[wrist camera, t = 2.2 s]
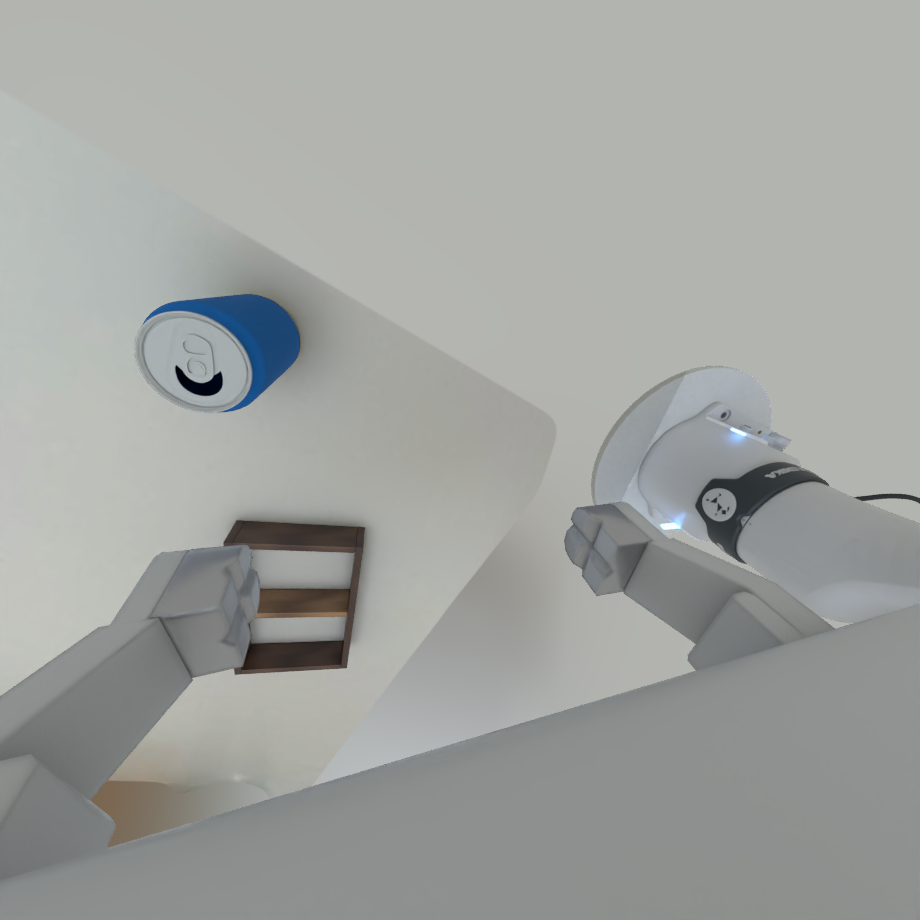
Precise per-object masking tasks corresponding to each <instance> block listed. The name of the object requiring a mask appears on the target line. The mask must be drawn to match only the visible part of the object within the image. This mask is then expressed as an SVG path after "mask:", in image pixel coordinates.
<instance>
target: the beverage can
mask: <svg viewBox="0 0 920 920" xmlns="http://www.w3.org/2000/svg"><path fill="white" fill-rule="evenodd" d="M299 349H300V338H299V333H298V330H297V327H296V325H295V323H294V322H293V320H292V318H291V317H290V316H289V315H288V313H287V312H286V311H285V310H284V309H283V308H282V307H280V306H279V305H278V304H276V303H275V302H273V301H271V300H269V299H267V298H264V297H262V296H258V295H252V294H244V295H234V296H224V297H214V298H204V299H195V300H185V301H177V302H172V303H168V304H165V305H163V306H161V307H159V308H157V309H156V310H155V311H153V312H152V313H151V314H150V315H149V316H148V317H147V318H146V320H145V321H144V323H143V325H142V326H141V328H140V329H139V331H138V333H137V336H136V339H135V348H134V350H135V357H136V361H137V364H138V367H139V369H140V371H141V373H142V375H143V376H144V378H145V379H146V381H147V382H148V383H149V384H150V385H151V387H152V388H153V389H154V390H155V391H157V392H158V393H159V394H160V395H161V396H163V397H164V398H165V399H167V400H169V401H170V402H172V403H174V404H176V405H178V406H180V407H182V408H185V409H188V410H192V411H196V412H204V413H214V412H229V411H234V410H237V409H241V408H243V407H245V406H247V405H248V404H250V403H251V402H253V401H254V400H255V399H256V398H257V397H258V396H259V395H260V394H261V393H262V392H263V391H265V390H266V389H267V388H268V387H269V386H270V385H271V384H272V383H273V382H274V381H275V380H276V379H277V378H278V377H280V376H281V375H282V374H283V373H284V372H285V371H286V370H287V369H288V368H289V367H290V366H291V365H292V364H293V363H294V362H295V360H296V358H297V356H298V354H299Z"/></svg>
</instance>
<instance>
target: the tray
mask: <svg viewBox="0 0 920 920" xmlns="http://www.w3.org/2000/svg"><path fill="white" fill-rule="evenodd" d="M364 530H365V528H360V527H358V528H357V527H342V526H323V525H305V524H287V523H268V522H250V521H236V523H235V524H234V526H233V528H232V529H231V531H230V533H229V534H228V536H227V538H226V539H225V541H224V546H234V545H247V546H249V548H250V549H261V550H290V551H319V552H349V553H355V554H354V562H353V570H352V578H351V586H350V590H308V589H260V600H259V607H258V611H257V615H256V617H255V618H286V617H346V616H347V618H346V626H345V634H344V641H330V642H302V643H273V644H251V638H250V642H249V646H248V649H247V653H246V657H245V661H244V664H243V666H242V667H238V668H234V671H235V675H236V674H252V673H270V672H287V671H305V670H322V669H340V668H347V662H348V655H349V648H350V640H351V633H352V626H353V619H354V611H355V604H356V597H357V589H358V582H359V575H360V568H361V560H362V553H363V544H364ZM248 627H249V630H250V623H249V624H248Z"/></svg>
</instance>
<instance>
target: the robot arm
mask: <svg viewBox="0 0 920 920" xmlns="http://www.w3.org/2000/svg"><path fill="white" fill-rule="evenodd" d="M790 441H791V440H790V439H788V438H786V437H783V436H781V435H779V434H777V433H776V432H774V431H772V430H770V429H768V428H767V427H765V426H763V425H761V424H759V423H757V422H756V421H754V420H752V419H750V418H748V417H747V416H745V415H743V414H741V413H739V412H737V411H736V410H734V409H732V408H730V407H728V406H727V405H725V404H723V403H721V402H714V403H712V404H710V405H709V406H708V407H706V408H705V409H704V410H703V411H702V412H700V413H699V414H698V415H697V416H695V417H693V418H691V419H689V420H687V421H684V422H682V423H680V424H678V425H676V426H675V427H673V428H672V429H670V430H669V431H667V432H666V433H665V434H664V435H663V436H661V437H660V438H659V439H658V440H657V441H656V443H655V444H654V445H653V446H652V447H651V449H650V450H649V452H648V453H647V455H646V456H645V458H644V460H643V462H642V465H641V468H640V471H639V476H638V486H639V490H640V493H641V495H642V496H643V497H644V499H645V500H646V501H647V503H648V512H649V515H650V516H651V517H652V518H654V519H655V520H662V519H667V520H669V521H670V522H672V523H669V524H661V525H660V526H661V527H662V528H663V529H676V528H680V529H681V530H683V531H684V532H685V533H687V534H688V535H690V536H691V537H693V538H694V539H696V540H698V541H712V542H713V543H715V544H716V545H717V546H718V547H719V548H720V549H721V550H722V551H724V552H725V553H726V554H728V555H730V556H732V557H733V558H735V559H736V560H737V561H739V562H741V563H745V564H748V565H750V566H751V567H752V568H754V569H755V570H756V571H757V572H759V573H760V574H761V575H763V576H764V577H765V578H766V579H765V578H763V577H761V576H758V575H756V574H754V573H752V572H749V571H747V570H745V569H742V568H740V567H738V566H735V565H733V564H731V563H729V562H726V561H724V560H722V559H720V558H717V557H715V556H712V555H710V554H708V553H706V552H703V551H701V550H699V549H697V548H694V547H692V546H690V545H688V544H685V543H683V542H681V541H678V540H676V539H674V538H672V539H668V538H667V537H666V536H665V535H664V534H663V533H662V532H661V531H659V530H658V529H657V528H656V527H655V526H654V525H653V524H651V523H650V522H649V521H648V520H647V519H646V518H645V517H644V516H642V515H641V514H640V513H639V512H638V511H637V510H636V509H634V508H633V507H632V506H631V505H630V504H628V503H626V502H616V503H609V504H603V505H594V506H586V507H578V508H576V509H575V510H574V512H573V514H572V517H571V520H572V522H573V525H572V526H571V527H570V529H568V530H567V532H566V536H565V540H564V542H565V549H566V552H567V555H568V557H569V558H570V560H571V561H572V563H573V564H575V565H576V566H578V567H580V568H581V569H582V577H583V578H584V579H585V580H586V582H587V583H588V585H589V586H590V587H591V589H592V590H593V592H594V593H595V594H596V596H599V595H605V594H611V593H617V592H623V591H624V594H626V595H627V596H628V597H630V598H631V599H633V600H634V601H635V602H637V603H638V604H640V605H641V606H643V607H644V608H646V609H647V610H648V611H650V612H651V613H653V614H654V615H655V616H657V617H658V618H660V619H661V620H663V621H664V622H665V623H667V624H668V625H670V626H671V627H672V628H674V629H675V630H677V631H678V632H680V633H681V634H682V635H684V636H685V637H687V638H688V639H690V640H691V641H692V642H694V643H695V644H696V645H695V646H694V647H693V649H692V650H691V651H690V653H689V654H688V661H689V663H690V664H691V665H692V666H693V667H694V669H695V670H696V671H694V672H691V673H688V674H684V675H681V676H677V677H674V678H671V679H667V680H664V681H661V682H657V683H654V684H651V685H648V686H644V687H641V688H637V689H634V690H631V691H628V692H624V693H621V694H617V695H614V696H611V697H608V698H604V699H601V700H598V701H595V702H591V703H588V704H584V705H581V706H578V707H574V708H571V709H568V710H564V711H561V712H558V713H554V714H551V715H548V716H544V717H541V718H538V719H535V720H531V721H528V722H525V723H521V724H518V725H514V726H511V727H508V728H504V729H501V730H498V731H494V732H491V733H488V734H484V735H481V736H478V737H474V738H471V739H468V740H465V741H461V742H458V743H455V744H451V745H448V746H445V747H441V748H438V749H435V750H431V751H428V752H425V753H422V754H418V755H415V756H411V757H408V758H405V759H402V760H399V761H395V762H391V763H388V764H385V765H382V766H378V767H375V768H372V769H368V770H365V771H362V772H358V773H355V774H352V775H349V776H345V777H342V778H338V779H335V780H332V781H329V782H325V783H322V784H319V785H315V786H312V787H309V788H305V789H302V790H299V791H295V792H292V793H289V794H285V795H282V796H279V797H275V798H272V799H269V800H265V801H262V802H259V803H256V804H252V805H249V806H245V807H242V808H239V809H236V810H232V811H229V812H226V813H222V814H219V815H216V816H212V817H209V818H206V819H202V820H199V821H196V822H192V823H189V824H186V825H183V826H179V827H176V828H173V829H170V830H166V831H163V832H159V833H156V834H153V835H149V836H146V837H143V838H139V839H136V840H133V841H129V842H126V843H123V844H119V845H116V846H113V847H110V848H107V847H108V844H109V842H110V839H111V837H112V834H113V832H114V829H115V823H114V822H113V820H112V818H111V817H110V816H108V815H107V814H106V813H105V812H104V811H102V810H101V809H100V808H99V807H97V806H96V805H95V804H94V803H92V802H91V801H90V800H91V799H92V798H93V796H94V795H95V794H96V793H97V792H98V791H99V789H100V788H101V787H102V786H103V785H104V783H106V781H107V780H108V779H109V778H110V777H111V776H112V774H113V773H114V772H115V771H116V770H117V768H118V767H119V766H120V765H121V764H122V763H123V761H124V760H125V759H126V758H127V757H128V756H129V754H130V753H131V752H132V751H133V750H134V749H135V747H136V746H137V745H138V744H139V743H140V742H141V740H142V739H143V738H144V737H145V736H146V735H147V733H148V732H149V731H150V730H151V729H152V728H153V726H154V725H155V724H156V723H157V722H158V720H159V719H160V718H161V717H162V716H163V715H164V713H165V712H166V711H167V710H168V709H169V708H170V706H171V705H172V704H173V703H174V702H175V701H176V699H177V698H178V697H179V696H180V695H181V694H182V692H183V691H184V690H185V689H186V688H187V687H188V685H189V684H190V683H191V682H192V681H193V679H192V678H193V677H198V676H202V675H207V674H211V673H216V672H220V671H225V670H229V669H233V668H238V667H242V666H243V664H244V661H245V657H246V653H247V649H248V646H249V642H250V638H251V633H250V630H249V627H248V624H249V623H250V622H251V621H252V620H253V619H254V618H255V617H256V615H257V611H258V607H259V600H260V583H259V578H258V574H257V572H256V571H255V570H253V569H251V568H250V565H251V561H252V558H253V557H252V554H251V551H250V548H249V546H247V545H234V546H223V547H212V548H201V549H191V550H184V551H173V552H162V553H160V554H159V555H157V556H156V557H155V558H154V559H153V560H152V562H151V563H150V565H149V566H148V568H147V569H146V571H145V572H144V574H143V575H142V577H141V578H140V580H139V581H138V583H137V584H136V586H135V588H134V589H133V591H132V592H131V594H130V595H129V597H128V598H127V600H126V601H125V603H124V604H123V606H122V607H121V609H120V610H119V612H118V614H117V615H116V617H115V618H114V620H113V621H112V623H111V624H110V625H108V626H103V627H99V628H97V629H96V630H94V631H93V632H91V633H90V634H89V635H87V636H86V637H84V638H83V639H81V640H80V641H79V642H77V643H76V644H74V645H73V646H71V647H70V648H69V649H67V650H66V651H64V652H63V653H61V654H60V655H59V656H57V657H56V658H54V659H53V660H51V661H50V662H49V663H47V664H46V665H44V666H43V667H41V668H40V669H39V670H37V671H36V672H34V673H33V674H31V675H30V676H29V677H27V678H26V679H24V680H23V681H21V682H20V683H19V684H17V685H16V686H14V687H13V688H11V689H10V690H9V691H7V692H6V693H4V694H3V695H1V696H0V920H920V523H918V522H915V521H912V520H909V519H906V518H904V517H901V516H898V515H896V514H893V513H890V512H888V511H885V510H883V509H880V508H878V507H875V506H873V505H870V504H868V503H865V502H863V501H866V500H874V499H884V498H885V499H886V498H898V499H909V500H913V501H916V502H918V503H920V498H918V497H914V496H911V495H905V494H879V495H870V496H861V497H851V496H849V495H847V494H844V493H842V492H840V491H838V490H836V489H833V488H831V487H830V486H829V484H828V483H827V482H826V481H825V480H823V479H821V478H819V476H817V475H816V474H814V473H813V472H811V471H809V470H806V469H804V468H801V465H800V462H799V460H798V459H796V458H793V457H791V456H790V455H787V454H785V453H783V452H782V451H783V449H785V447H787V445H788V444H789V443H790ZM818 615H820V616H822V617H825V618H828V619H831V620H835V621H839V622H846V623H854V624H850V625H847V626H844V627H840V628H837V629H835V628H833V627H832V626H831V625H830V624H828V623H827V622H826V621H824V620H823V619H822V618H820V617H819V616H818Z"/></svg>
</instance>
